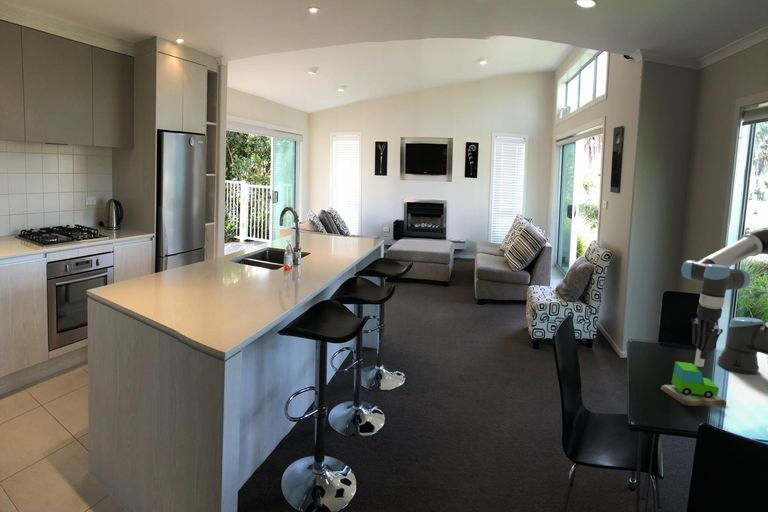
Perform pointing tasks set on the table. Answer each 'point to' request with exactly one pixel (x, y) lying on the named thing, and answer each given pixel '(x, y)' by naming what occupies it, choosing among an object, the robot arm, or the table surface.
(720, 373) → the table surface
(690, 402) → the wooden board
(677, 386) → the toy car
